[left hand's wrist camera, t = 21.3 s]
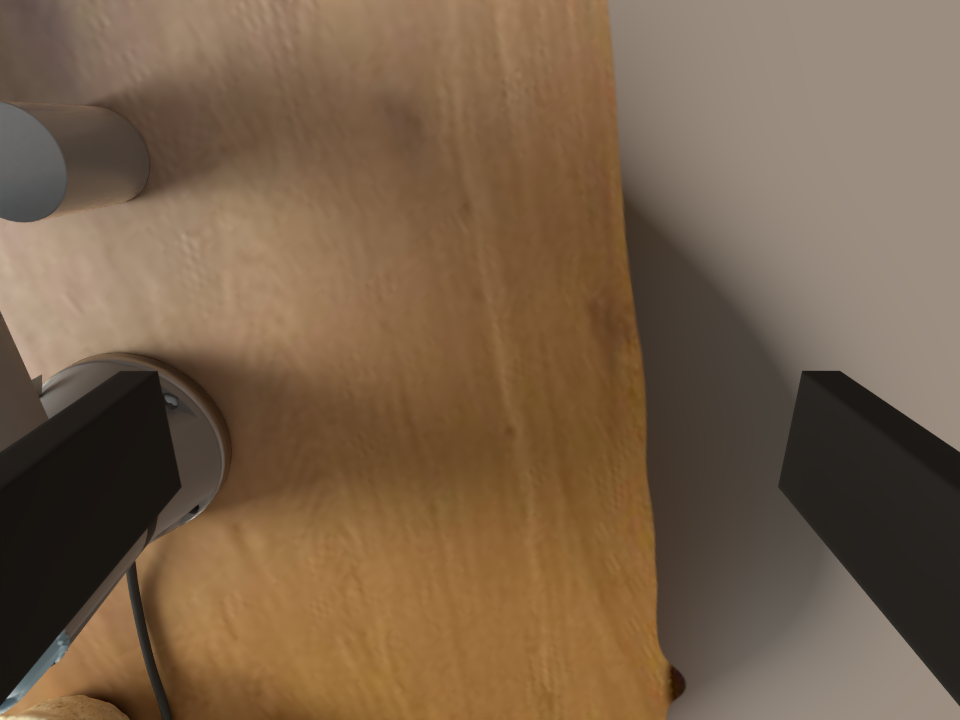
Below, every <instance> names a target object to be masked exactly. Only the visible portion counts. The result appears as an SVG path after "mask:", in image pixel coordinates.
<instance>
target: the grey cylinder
mask: <svg viewBox="0 0 960 720" xmlns="http://www.w3.org/2000/svg"><path fill="white" fill-rule="evenodd" d="M149 169H150V162H149V155H148V151H147V148H146V145H145V143H144V141H143V139H142V137H141V136H140V134H139V133H138V131H137V130H136V129H135V128H134V126H133V125H132V124H131V123H130V122H129V121H128V120H126V119H125V118H124V117H123V116H121V115H119V114H118V113H116V112H114V111H112V110H109V109H107V108H103V107H98V106H83V105H65V104H46V103H28V102H9V101H0V218H3V219H6V220H9V221H14V222H24V223H25V222H34V221H39V220H44V219H48V218H53V217H58V216H62V215H67V214H72V213H77V212H81V211H86V210H91V209H95V208H100V207H105V206H110V205H114V204H119V203H124V202H126V201H129V200H131V199H133V198H134V197H135V196H137V195H138V194H139V193H140V192H141V191H142V189H143V188H144V186H145V184H146V182H147V179H148V176H149Z"/></svg>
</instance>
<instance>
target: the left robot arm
mask: <svg viewBox="0 0 960 720" xmlns="http://www.w3.org/2000/svg"><path fill="white" fill-rule="evenodd" d="M230 463H231V441H230V436H229V432H228V429H227V426H226V423H225V421H224V419H223V417H222V415H221V413H220V411H219V410H218V408H217V406H216V405H215V404H214V402H213V401H212V399H211V398H210V397H209V396H208V395H207V393H206V392H205V391H204V390H203V389H202V388H201V387H200V386H199V385H197V384H196V383H195V382H194V381H193V380H191V379H190V378H189V377H187V376H186V375H185V374H183V373H181V372H180V371H178V370H176V369H175V368H173V367H171V366H169V365H167V364H165V363H162V362H160V361H157V360H154V359H151V358H148V357H144V356H140V355H134V354H127V353H107V354H100V355H95V356H91V357H88V358H85V359H82V360H80V361H78V362H76V363H74V364H72V365H70V366H69V367H67V368H65V369H64V370H62V371H60V372H58V373H57V374H55V375H54V376H52V377H51V378H50V379H48V380H47V381H46V382H45V383H44V384H43V385H42V375H40V376H38V377H37V378H35V379H33V380H31V378H30V376H29V374H28V372H27V369H26V367H25V365H24V363H23V360H22V358H21V356H20V354H19V352H18V349H17V347H16V345H15V343H14V340H13V338H12V336H11V334H10V332H9V329H8V327H7V325H6V323H5V321H4V318H3V316H2V314H1V312H0V715H1V714H2V713H4V712H6V711H7V710H8V709H10V708H11V707H12V706H14V705H15V704H16V703H17V702H18V701H20V700H21V699H22V698H23V696H24V695H25V694H26V693H27V692H28V691H29V690H30V689H31V688H32V687H33V685H34V684H35V683H36V682H37V681H38V680H39V679H40V678H41V677H42V675H43V674H44V673H45V672H46V671H47V670H48V669H49V668H50V667H51V666H52V665H54V664H56V663H57V662H58V661H59V660H60V659H61V658H63V656H64V654H65V652H66V651H68V647H69V646H70V645H71V643H72V642H73V641H74V639H75V638H76V637H77V636H78V634H79V633H80V632H81V630H82V629H83V628H84V626H85V625H86V624H87V622H88V621H89V620H90V619H91V617H92V616H93V615H94V613H95V612H96V611H97V609H98V608H99V607H100V606H101V604H102V603H103V602H104V600H105V599H106V598H107V596H108V595H109V594H110V592H111V591H112V590H113V589H114V587H115V586H116V585H117V583H118V582H119V581H120V579H121V578H122V577H123V576H124V574H125V573H126V575H127V582H128V588H129V593H130V599H131V604H132V609H133V614H134V619H135V623H136V628H137V632H138V637H139V641H140V645H141V649H142V653H143V657H144V661H145V664H146V668H147V671H148V674H149V678H150V681H151V684H152V686H153V689H154V692H155V695H156V698H157V701H158V704H159V707H160V711H161V715H162V720H172V718H171V713H170V709H169V705H168V701H167V698H166V695H165V692H164V689H163V686H162V683H161V680H160V677H159V674H158V671H157V668H156V664H155V661H154V657H153V653H152V649H151V645H150V641H149V636H148V632H147V627H146V623H145V618H144V613H143V608H142V603H141V597H140V592H139V586H138V579H137V571H136V563H135V560H136V559H137V557H138V556H139V554H140V553H141V552H142V551H143V549H144V548H145V547H146V546H147V545H148V544H149V543H151V542H153V541H154V540H156V539H158V538H160V537H161V536H163V535H165V534H167V533H168V532H170V531H172V530H174V529H175V528H177V527H178V526H180V525H182V524H184V523H186V522H187V521H189V520H191V519H193V518H194V517H196V516H197V515H198V514H200V513H201V512H202V511H203V510H204V509H205V508H206V507H207V506H208V505H209V504H210V502H211V501H212V499H213V498H214V497H215V495H216V494H217V492H218V491H219V490H220V488H221V487H222V485H223V483H224V481H225V480H226V477H227V475H228V472H229V468H230ZM778 487H779V488H780V490H781V491H782V492H783V493H784V495H785V496H786V497H787V498H788V499H789V501H790V502H791V503H792V504H793V505H794V507H795V508H796V509H797V510H798V511H799V513H800V514H801V515H802V516H803V517H804V519H805V520H806V521H807V522H808V524H809V525H810V526H811V527H812V528H813V530H814V531H815V532H816V533H817V534H818V536H819V537H820V538H821V539H822V540H823V542H824V543H825V544H826V545H827V546H828V548H829V549H830V550H831V551H832V552H833V554H834V555H835V556H836V557H837V559H838V560H839V561H840V562H841V563H842V565H843V566H844V567H845V568H846V569H847V571H848V572H849V573H850V574H851V575H852V577H853V578H854V579H855V580H856V581H857V583H858V584H859V585H860V586H861V588H862V589H863V590H864V591H865V592H866V594H867V595H868V596H869V597H870V598H871V600H872V601H873V602H874V603H875V604H876V606H877V607H878V608H879V609H880V610H881V612H882V613H883V614H884V615H885V617H886V618H887V619H888V620H889V621H890V623H891V624H892V625H893V626H894V627H895V629H896V630H897V631H898V632H899V633H900V635H901V636H902V637H903V638H904V639H905V641H906V642H907V643H908V644H909V645H910V647H911V648H912V649H913V650H914V652H915V653H916V654H917V655H918V656H919V658H920V659H921V660H922V661H923V662H924V664H925V665H926V666H927V667H928V668H929V670H930V671H931V672H932V673H933V674H934V676H935V677H936V678H937V679H938V681H939V682H940V683H941V684H942V685H943V687H944V688H945V689H946V690H947V691H948V692H949V694H950V695H951V696H952V697H953V699H954V700H955V701H956V702H957V703H958V705H959V706H960V452H959V451H957V450H956V449H954V448H953V447H951V446H950V445H948V444H947V443H945V442H944V441H943V440H941V439H940V438H938V437H937V436H935V435H934V434H932V433H931V432H929V431H928V430H926V429H925V428H923V427H922V426H920V425H919V424H917V423H916V422H914V421H913V420H911V419H910V418H909V417H907V416H906V415H904V414H903V413H901V412H900V411H898V410H897V409H895V408H894V407H892V406H891V405H889V404H888V403H886V402H885V401H883V400H882V399H881V398H879V397H878V396H876V395H875V394H873V393H872V392H870V391H869V390H867V389H866V388H864V387H863V386H861V385H860V384H858V383H857V382H855V381H854V380H853V379H851V378H850V377H848V376H847V375H845V374H844V373H842V372H841V371H802V375H801V380H800V384H799V389H798V394H797V399H796V404H795V408H794V413H793V418H792V423H791V428H790V433H789V437H788V442H787V447H786V452H785V457H784V461H783V466H782V471H781V476H780V481H779V486H778Z"/></svg>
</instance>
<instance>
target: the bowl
mask: <svg viewBox="0 0 960 720" xmlns="http://www.w3.org/2000/svg"><path fill="white" fill-rule="evenodd" d="M0 720H130V719H129V718H128V717H127V715H125V714H124V713H122V712H121V711H120V710H119V709H118V708H117V707H115V706H114V705H113V704H111V703H109V702H104V701H101V700H98V699H93V698H89V697H87V696H85V695H75V696H63V697H56V698H52V699H49V700H47V701H45V702H42V703H39V704H37V705H35V706H33V707H31V708H29V709H27V710H24V711H22V712H20V713H13V714H9V715H2V716H0Z"/></svg>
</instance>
